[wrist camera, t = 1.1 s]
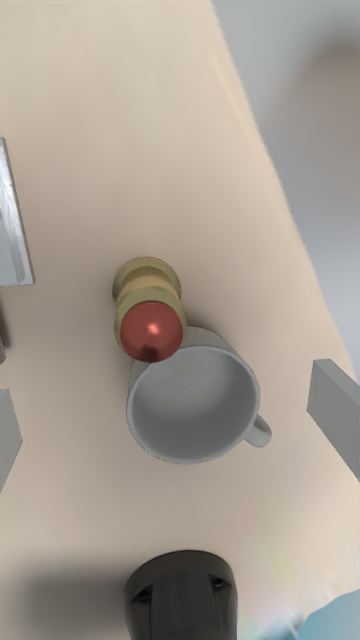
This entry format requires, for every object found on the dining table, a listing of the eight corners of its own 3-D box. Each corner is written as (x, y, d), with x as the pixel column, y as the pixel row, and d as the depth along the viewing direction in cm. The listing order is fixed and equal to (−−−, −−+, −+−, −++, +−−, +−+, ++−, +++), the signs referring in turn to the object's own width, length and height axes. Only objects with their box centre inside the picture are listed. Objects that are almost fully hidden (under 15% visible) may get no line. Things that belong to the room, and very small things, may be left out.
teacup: (105, 367, 33) (96, 419, 26) (183, 288, 31) (198, 321, 24) (201, 439, 38) (218, 500, 30) (274, 375, 36) (311, 424, 28)
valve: (181, 317, 32) (199, 371, 23) (117, 323, 31) (110, 380, 22) (178, 254, 30) (197, 285, 21) (109, 259, 29) (97, 293, 20)
